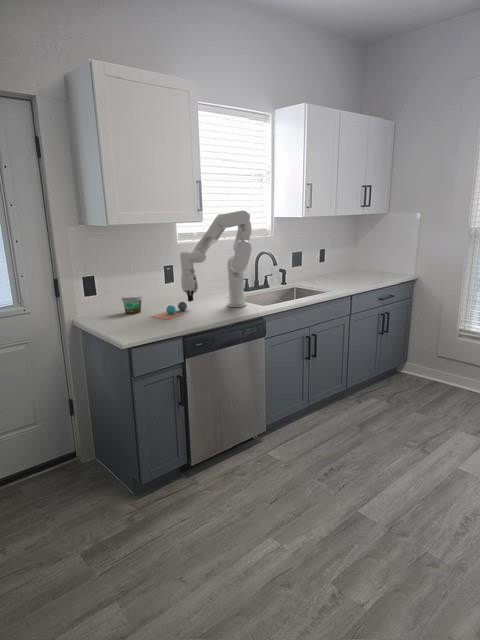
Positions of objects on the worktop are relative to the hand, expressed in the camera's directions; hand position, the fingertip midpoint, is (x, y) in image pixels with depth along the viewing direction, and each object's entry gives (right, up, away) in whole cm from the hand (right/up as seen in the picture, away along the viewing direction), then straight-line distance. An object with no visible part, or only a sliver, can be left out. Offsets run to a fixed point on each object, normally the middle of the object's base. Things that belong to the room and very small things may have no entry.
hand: (190, 301), depth 269 cm
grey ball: (-5, -3, -4) cm, 7 cm away
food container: (-35, -8, -8) cm, 36 cm away
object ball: (-10, -6, -13) cm, 17 cm away
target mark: (-12, -9, -15) cm, 22 cm away
